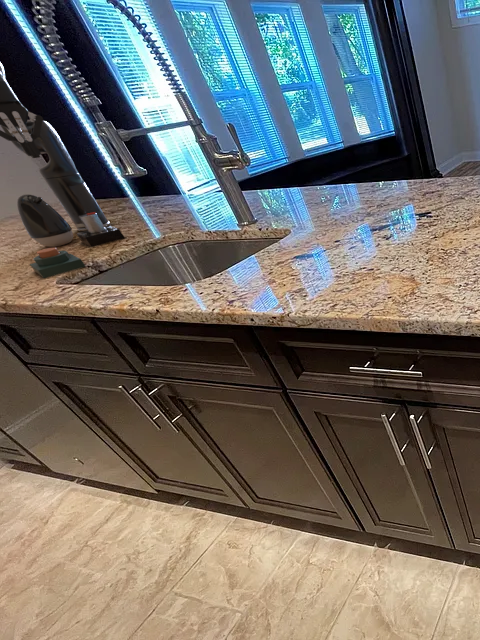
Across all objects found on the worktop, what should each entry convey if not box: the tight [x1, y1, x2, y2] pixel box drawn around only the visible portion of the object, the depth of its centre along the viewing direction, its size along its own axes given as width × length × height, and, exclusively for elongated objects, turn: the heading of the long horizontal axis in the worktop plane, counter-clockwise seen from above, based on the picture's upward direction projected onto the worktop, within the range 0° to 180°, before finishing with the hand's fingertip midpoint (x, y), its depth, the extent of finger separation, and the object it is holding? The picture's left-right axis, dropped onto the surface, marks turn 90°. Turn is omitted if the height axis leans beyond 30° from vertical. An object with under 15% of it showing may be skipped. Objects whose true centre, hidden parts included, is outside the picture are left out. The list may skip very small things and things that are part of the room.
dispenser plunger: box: [36, 247, 60, 258], centre depth 113 cm, size 4×4×2 cm
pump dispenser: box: [16, 193, 74, 248], centre depth 133 cm, size 10×10×15 cm
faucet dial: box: [79, 212, 106, 233], centre depth 134 cm, size 4×4×5 cm
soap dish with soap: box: [29, 250, 86, 279], centre depth 114 cm, size 10×9×4 cm
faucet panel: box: [76, 225, 125, 248], centre depth 136 cm, size 10×9×3 cm
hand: (36, 157), depth 116 cm, fingers closed
